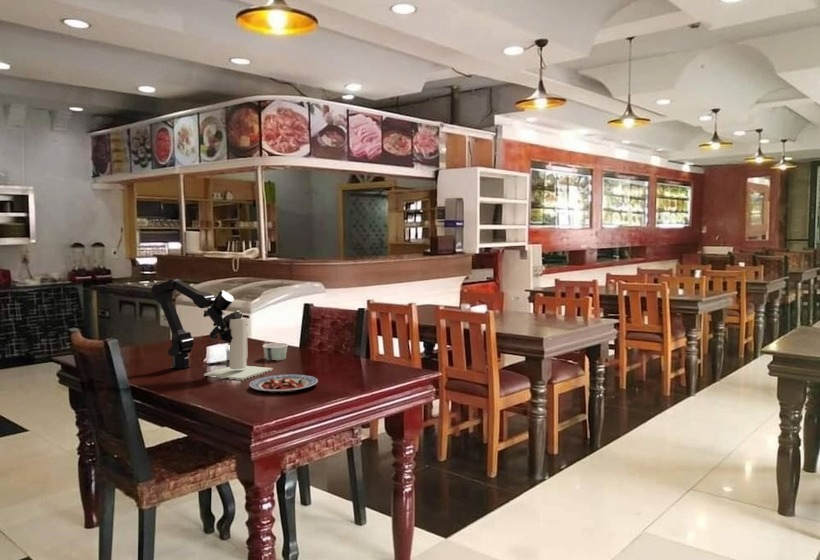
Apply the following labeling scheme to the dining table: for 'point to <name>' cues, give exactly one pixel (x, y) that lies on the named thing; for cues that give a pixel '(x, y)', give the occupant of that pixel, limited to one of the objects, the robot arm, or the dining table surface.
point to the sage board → (239, 372)
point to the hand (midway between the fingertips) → (240, 344)
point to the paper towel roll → (238, 343)
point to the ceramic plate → (283, 383)
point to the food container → (275, 351)
